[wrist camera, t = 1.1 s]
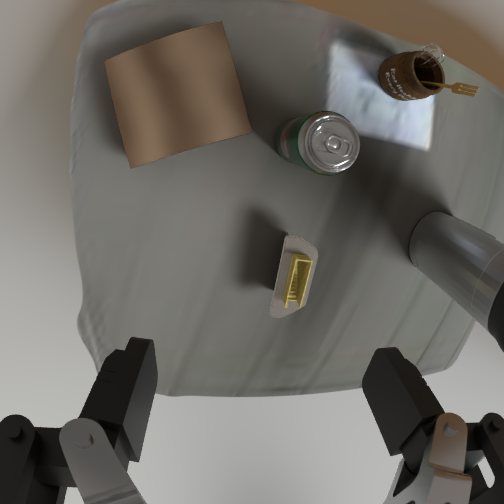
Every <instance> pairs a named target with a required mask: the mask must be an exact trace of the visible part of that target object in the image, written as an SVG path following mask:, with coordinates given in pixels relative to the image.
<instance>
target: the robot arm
mask: <svg viewBox="0 0 504 504" xmlns="http://www.w3.org/2000/svg"><path fill="white" fill-rule="evenodd" d="M409 254H410V258H411V261H412V263H413V264H414V266H416V267H417V268H418V269H419V270H420V271H421V272H423V273H424V274H425V275H426V276H427V277H429V278H430V279H431V280H432V281H433V282H434V283H435V284H437V285H438V286H439V287H440V288H441V289H442V290H444V291H445V292H446V293H447V294H448V295H449V296H450V297H452V298H453V299H454V300H455V301H456V302H457V303H458V304H459V305H460V306H462V307H463V308H464V309H465V310H466V311H467V312H468V313H469V314H470V315H471V316H472V317H473V318H475V319H476V320H477V321H478V322H479V323H480V324H481V325H482V326H483V327H484V328H485V329H486V330H487V331H488V332H489V333H490V334H491V335H492V336H493V337H494V338H495V339H496V340H497V342H498V344H499V346H500V348H501V349H502V351H503V352H504V244H503V243H501V242H499V241H498V240H496V238H495V237H494V236H492V235H490V234H488V233H486V232H485V231H483V230H481V229H479V228H477V227H475V226H473V225H471V224H469V223H467V222H465V221H463V220H461V219H459V218H457V217H454V216H452V217H451V216H449V215H447V214H445V213H442V212H432V213H430V214H428V215H426V216H425V217H424V218H422V219H421V220H420V222H419V223H418V224H417V226H416V227H415V229H414V231H413V233H412V236H411V239H410V244H409ZM157 378H158V372H157V364H156V356H155V348H154V342H153V340H151V339H143V338H136V337H131V338H130V340H129V342H128V344H127V346H126V349H125V351H124V350H118V349H116V350H115V351H113V352H112V353H111V354H110V355H109V356H108V357H106V359H105V361H104V363H103V365H102V367H101V371H99V373H98V376H97V378H96V381H95V382H94V384H93V387H92V389H91V391H90V393H89V395H88V398H87V400H86V402H85V405H84V407H83V409H82V412H81V414H80V416H79V417H78V418H77V419H73V420H71V421H69V422H67V423H66V424H65V425H64V426H63V427H62V428H44V427H34V426H33V424H32V423H31V422H30V420H29V419H27V418H26V417H24V416H22V415H10V416H7V417H6V418H4V419H3V420H2V421H1V422H0V504H64V499H65V494H66V490H67V487H77V488H78V490H79V492H80V494H81V496H82V499H83V501H84V504H147V503H146V502H145V500H144V499H143V498H142V496H141V494H140V493H139V491H138V490H137V488H136V486H135V485H134V483H133V482H132V480H131V478H130V477H129V475H128V473H127V468H128V463H129V460H130V461H134V462H139V460H140V455H141V451H142V446H143V441H144V437H145V432H146V428H147V423H148V419H149V415H150V411H151V407H152V403H153V399H154V395H155V391H156V387H157ZM362 388H363V392H364V394H365V397H366V399H367V401H368V404H369V406H370V408H371V410H372V413H373V415H374V417H375V420H376V422H377V424H378V427H379V429H380V432H381V434H382V437H383V439H384V441H385V444H386V446H387V449H388V451H389V454H390V456H393V455H397V454H401V453H402V455H403V458H402V459H401V461H400V463H399V466H398V469H397V472H396V475H395V477H394V480H393V483H392V485H391V488H390V491H389V493H388V496H387V498H386V500H385V502H384V503H383V504H504V419H503V418H502V417H501V416H500V415H498V414H496V413H488V414H486V415H485V416H484V417H483V418H482V420H481V421H480V422H479V423H465V421H464V420H463V419H462V418H461V417H460V416H458V415H456V414H454V413H445V412H444V410H443V408H442V407H441V405H440V404H439V402H438V400H437V399H436V397H435V396H434V394H433V392H432V391H431V389H430V388H429V386H427V383H426V381H425V380H424V378H422V375H421V374H420V372H419V371H418V369H417V367H416V366H415V365H413V364H412V363H411V362H410V361H408V360H407V359H405V358H404V357H403V355H402V354H401V352H400V351H399V349H398V348H396V347H390V348H378V349H377V350H376V351H375V353H374V355H373V357H372V359H371V361H370V364H369V366H368V368H367V370H366V372H365V374H364V377H363V380H362ZM484 457H486V459H487V461H488V463H489V465H490V467H491V469H492V472H493V474H494V476H495V481H494V484H493V486H492V487H491V488H489V487H488V486H487V484H486V482H485V480H484V478H483V475H482V473H481V470H480V468H479V466H478V463H479V462H480V461H481V460H482V459H483V458H484Z"/></svg>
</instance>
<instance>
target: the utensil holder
mask: <svg viewBox="0 0 504 504" xmlns="http://www.w3.org/2000/svg"><path fill="white" fill-rule="evenodd" d="M429 45H430V44H429ZM429 45H428V46H429ZM425 46H426V45H425ZM426 47H427V46H426ZM426 47H425V48H426ZM437 47H438V46H437ZM422 48H423V47H422ZM425 48H424V49H425ZM440 48H441V47H440ZM424 49H423V50H424ZM436 49H437V48H436ZM436 49H435V50H436ZM438 50H439V52H440V51H441V50H440V49H439V47H438ZM428 51H430V50H428ZM433 51H434V50H433ZM433 51H432V52H433ZM437 53H438V52H437ZM437 53H436V54H437ZM436 54H435V55H436ZM435 55H434V56H435ZM434 56H433V55H432V54H430V53H428V52H427V51H426V52H425V51H414V52H403V53H400V54H397V55H395V56H392V57H390V58H388V59H386V60H385V61H383V63H382V64H381V65H380V68H379V80H380V83H381V85H382V87H383V89H384V90H385V91H386V93H387V94H388V95H390V96H391V97H393V98H395V99H397V100H402V101H408V100H417V99H423V98H426V97H428V96H430V95H434V94H437V93H439V92H440V91H441V90H442V89H443V87H445V88H451V89H452V92H453V93H457V94H463V95H468V96H473V97H475V96H476V95H475V94H472V93H468V92H473V93H477V91H476V90H472V89H468V88H473V89H479V87H476V86H472V85H467V84H463V83H455V84H453V85H447V84H445V75H444V71H443V68H442V66H441V64H440V63H439V61H440V60H439V61H438V60H437V59H438V58H437V59H436V58H435V57H434ZM442 56H443V57H444V54H443V55H442ZM440 57H441V55H440ZM443 61H444V60H443ZM443 61H442V62H443ZM442 62H441V63H442ZM463 87H467V88H463ZM460 90H462V91H460ZM464 91H468V92H464Z"/></svg>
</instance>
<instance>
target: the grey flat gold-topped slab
mask: <svg viewBox="0 0 504 504" xmlns="http://www.w3.org/2000/svg"><path fill="white" fill-rule="evenodd" d="M317 259H318V251H317V249H316V248H315V247H314V246H312V245H311V244H309V243H308V242H306V241H305V240H304V239H302V238H301V237H299V236H294V235H288V233H286V235H285V239H284V244H283V249H282V254H281V259H280V264H279V269H278V274H277V279H276V284H275V288H274V293H273V298H272V302H271V307H270V315H271V317H276V318H283V317H285V316H287V315H289V314H291V313H293V312H294V311H296V310H298V309H300V308H302V307H304V306H305V304H306V301H307V297H308V294H309V290H310V286H311V282H312V278H313V275H314V271H315V267H316V263H317ZM297 261H298V262H297ZM297 265H298V266H297ZM297 269H298V270H297ZM297 271H298V272H297ZM297 273H298V274H297ZM297 282H298V283H297ZM295 286H298V287H295ZM292 290H294V291H292ZM296 290H297V291H296ZM289 294H292V295H289ZM296 294H297V295H296Z"/></svg>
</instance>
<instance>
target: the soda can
mask: <svg viewBox="0 0 504 504" xmlns="http://www.w3.org/2000/svg"><path fill="white" fill-rule="evenodd" d="M275 145H276V149H277V151H278V153H279V154H280V155H281V156H282V157H283V158H284V159H285V160H287V161H288V162H291V163H294V164H296V165H299V166H301V167H304V168H306V169H308V170H311V171H313V172H316V173H318V174H321V175H328V176H330V175H336V174H340V173H342V172H344V171H345V170H347V169H348V168H349V167H350V166H351V165H352V164H353V163H354V162H355V160H356V159H357V157H358V154H359V150H360V140H359V136H358V133H357V131H356V129H355V128H354V126H353V125H352V124H351V123H350V121H349V120H348V119H346V118H345V117H344V116H342V115H340V114H338V113H335V112H331V111H321V112H316V113H313V114H309V115H306V116H302V117H298V118H295V119H292V120H289V121H287V122H285V123H283V124H282V125H281V126H280V127H279V129H278V131H277V133H276V137H275Z"/></svg>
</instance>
